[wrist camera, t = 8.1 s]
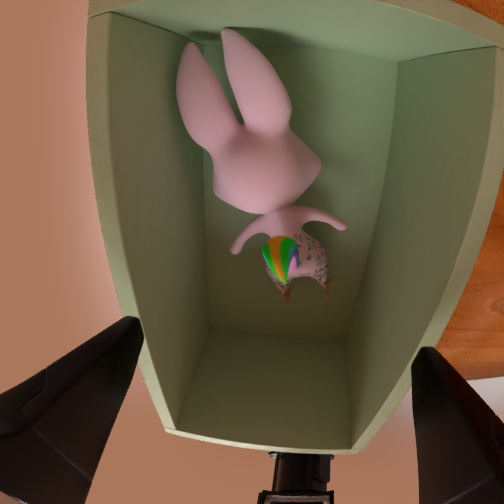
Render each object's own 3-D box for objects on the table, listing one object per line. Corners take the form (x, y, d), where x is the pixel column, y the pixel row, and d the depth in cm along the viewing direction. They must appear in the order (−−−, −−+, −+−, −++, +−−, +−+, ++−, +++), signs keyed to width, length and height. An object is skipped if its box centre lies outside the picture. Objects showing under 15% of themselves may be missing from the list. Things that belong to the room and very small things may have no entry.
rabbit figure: (350, 254, 19) (284, 10, 9) (366, 334, 15) (297, 7, 5) (259, 273, 21) (150, 60, 11) (256, 352, 17) (84, 100, 7)
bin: (349, 344, 22) (359, 454, 14) (203, 328, 23) (165, 432, 15) (408, 53, 12) (515, 31, 4) (193, 34, 13) (89, -6, 5)
